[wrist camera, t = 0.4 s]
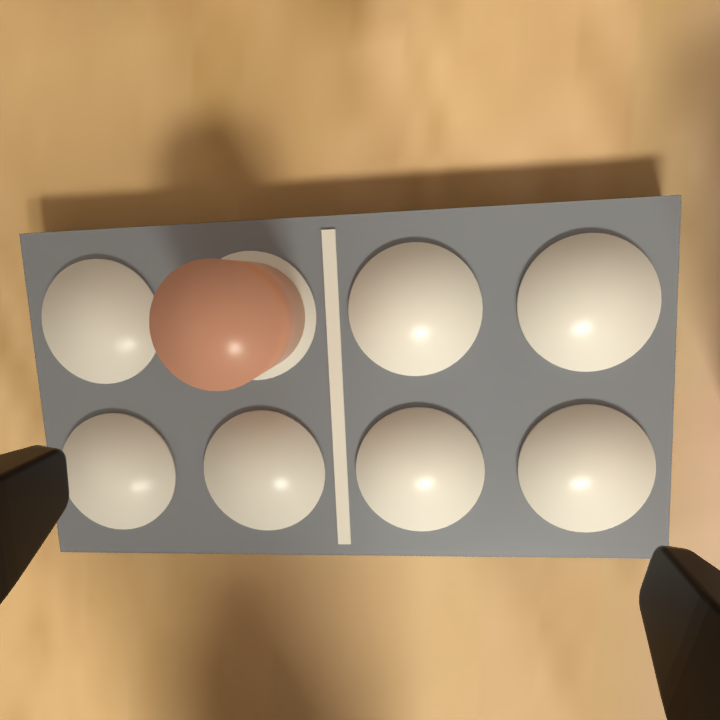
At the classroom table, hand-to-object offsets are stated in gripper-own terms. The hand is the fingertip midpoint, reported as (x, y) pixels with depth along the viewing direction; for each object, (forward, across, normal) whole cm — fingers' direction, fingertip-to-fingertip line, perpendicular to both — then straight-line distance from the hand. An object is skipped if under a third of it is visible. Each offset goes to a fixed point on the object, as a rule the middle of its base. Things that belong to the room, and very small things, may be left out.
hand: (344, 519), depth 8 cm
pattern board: (+14, +2, +4) cm, 14 cm away
